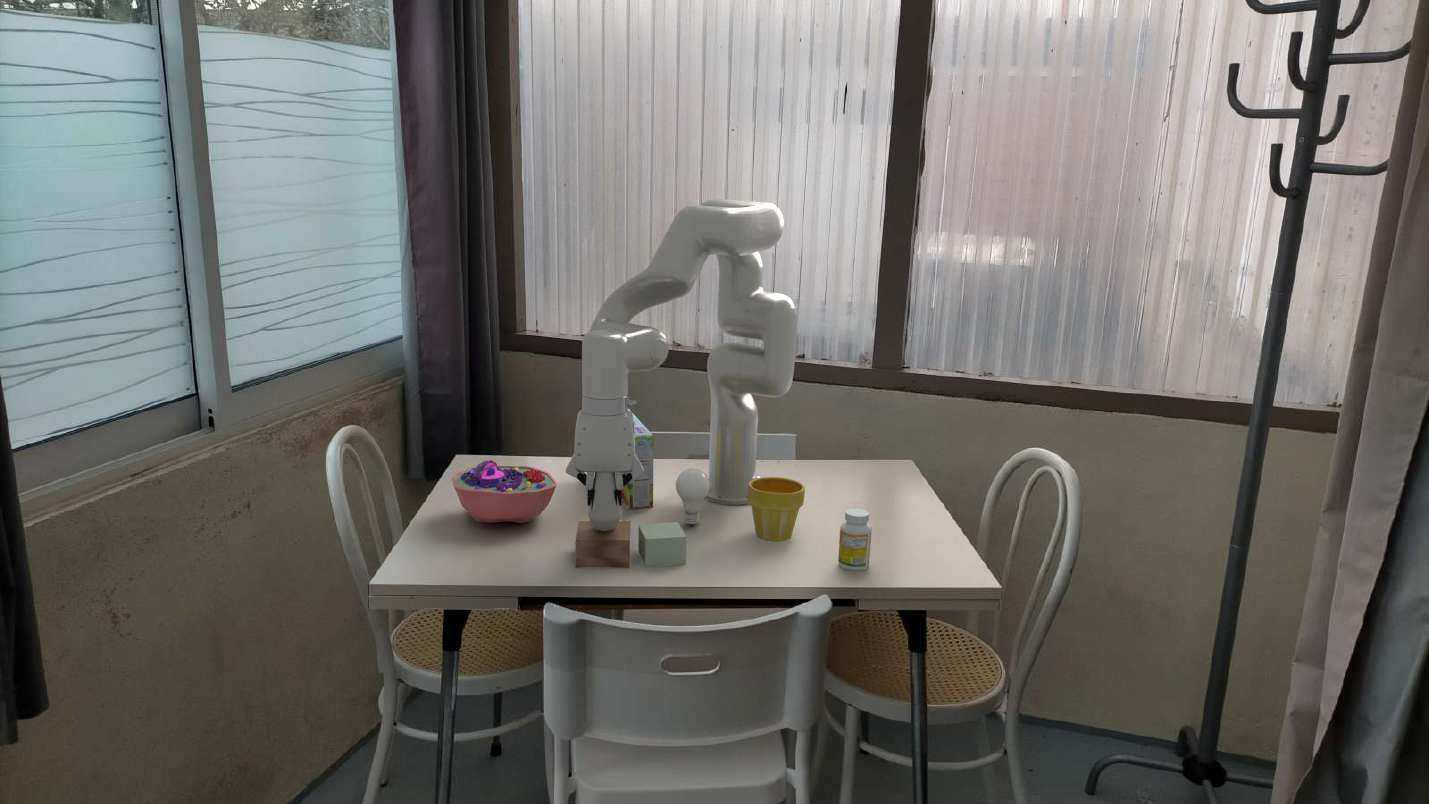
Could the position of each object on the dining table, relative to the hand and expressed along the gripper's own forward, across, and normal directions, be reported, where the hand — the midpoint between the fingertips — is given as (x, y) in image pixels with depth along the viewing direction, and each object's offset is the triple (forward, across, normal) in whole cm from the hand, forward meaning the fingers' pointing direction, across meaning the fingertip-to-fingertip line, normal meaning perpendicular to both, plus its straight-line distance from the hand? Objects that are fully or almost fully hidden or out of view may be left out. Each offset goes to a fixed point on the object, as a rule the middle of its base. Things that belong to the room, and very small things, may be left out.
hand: (604, 508), depth 174 cm
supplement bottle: (+9, -43, +3) cm, 44 cm away
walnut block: (+9, 0, 0) cm, 9 cm away
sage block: (+9, -10, 0) cm, 13 cm away
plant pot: (+9, -31, -11) cm, 34 cm away
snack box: (+9, -4, -35) cm, 36 cm away
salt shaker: (+3, 0, 0) cm, 3 cm away
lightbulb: (+9, -16, -16) cm, 24 cm away
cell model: (+9, +19, -18) cm, 28 cm away
